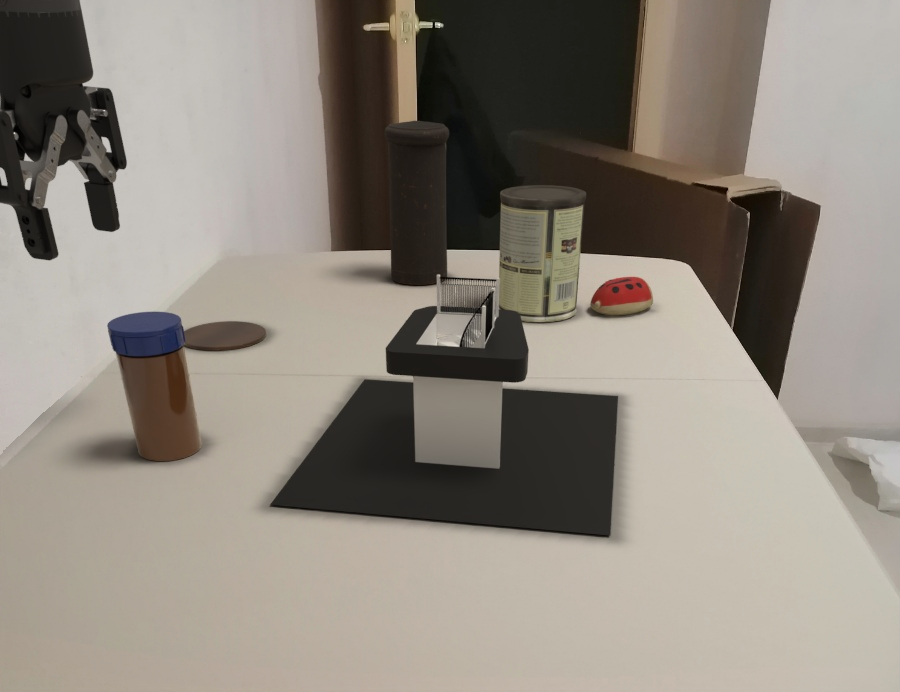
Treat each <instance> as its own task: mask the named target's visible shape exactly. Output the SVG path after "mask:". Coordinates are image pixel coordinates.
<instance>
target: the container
mask: <svg viewBox="0 0 900 692" xmlns="http://www.w3.org/2000/svg"><path fill="white" fill-rule="evenodd" d="M384 136H385V139H386V141H387V143H388V173H389V174H388V177H389V179H388V180H389V230H390V231H389V232H390V233H389V234H390V276H391V277H390V279H391V280H392V281H394V282H396V283H398V284H401V285H412V286H424V285H425V286H426V285H427V286H428V285H433V284H437V275H440V277H448V243H447V239H448V237H447V236H448V235H447V142H448V139H449V138H450V130H449V128H448V126H446V125H445V124H444V123H440V122H438V123H437V122H431V121H424V120H409V121H400V122H395V123H389V124H388V125H387V126H386V127H385V129H384ZM444 281H445V280H444V279H442V280H441V279H440V283H442V282H444Z"/></svg>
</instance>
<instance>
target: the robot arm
mask: <svg viewBox="0 0 900 692" xmlns="http://www.w3.org/2000/svg"><path fill="white" fill-rule="evenodd" d="M91 58H92V57H91V52H90V46H89V41H88V37H87V30H86V25H85V21H84V15H83V10H82V5H81V0H0V169H2V170H3V171H4V175H5V179H6V185H5V184H3V183H2V179H1V177H0V204H4V205H8V206H10V207H12V208H13V210H14V212H15V215H16V219H17V223H18V226H19V230H20V234H21V238H22V241H23V245H24V248H25V250H26V251H27V253H28V254H29V256H30V257H31V258H32V259H35V260H42V261H52V260H55V259H57V258H58V257H59V250H58V249H59V248H58V245H57V241H56V237H55V233H54V229H53V225H52V220H51V215H50V212H49V208H48V207H45V204H46V199H47V194H48V189H49V188H48V187H49V183H50V182H52V181H53V180H55V179H56V176H57V171H58V167H61V166H64V165H66V163H68V162H71V163H73V164H74V166H75V167H76V169H77V170H78V171H79V173H80V174H81V175H82V177H83V178H84V179H85V180H88V181H84V182H83V186H84V191H85V196H86V199H87V205H88V209H89V214H90V219H91V223H92V227H93V228H94V229H95V230H97V231H100V232H107V233H108V232H109V233H114V232H116V231H118V230H120V228H121V224H120V213H119V209H118V203H117V197H116V192H115V187H114V186H115V185H114V183H115V182H116V180H117V173H118V171H119V170H126V168H127V166H128V160H127V155H126V151H125V147H124V146H125V145H124V141H123V137H122V132H121V127H120V122H119V117H118V112H117V108H116V104H115V99H114V94H113V92H112V90H111V88H109V87H98V86H90V85H89V86H88V85H84V84H86V83H88V82H90V81H91V80H92V79H93V77H94V68H93V63H92V59H91ZM103 138H106V139H107V140H108V143H109V147H110V151H107V150H108V149H107V148H106V146H105V144H104V142H103ZM26 156H27V157H28V159H30V160H31V161H30V160H25V159H26ZM28 179H31V181H30V187H29V189H27V188H26V182H27V180H28Z"/></svg>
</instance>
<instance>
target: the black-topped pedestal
mask: <svg viewBox="0 0 900 692" xmlns="http://www.w3.org/2000/svg"><path fill="white" fill-rule="evenodd" d="M440 279H441V280H442V279H444V280H443V281H445V283H441V282H440ZM447 281H448V282H447ZM466 281H468V284H466ZM450 282H454V283H450ZM457 282H461V283H457ZM463 282H464V283H463ZM470 282H471V283H470ZM473 283H478V284H473ZM480 283H484V285H483V284H480ZM489 283H491V285H489ZM447 285H448V305H447ZM499 285H500V278H499V277H496V278H477V277H476V278H475V277H474V278H473V277H455V276H454V277H453V276H447V277H440V275H437V283H436V305H429V306H425V307H420V308H416V309H415V310H413V311H412V312H411V314H410V315H409V316H408V318H407V319H406V321H404V323H403V324H402V326H401V327H400V328H399V330H398V331H397V332H396V334H394V336H393V338H392V339H391V340H390V341H389V343H388V344H387V345H386V347H385V367H386V373H387V374H389V375H393V376H403V377H404V376H407V377H412V381H397V380H383V379H367V378H364V379H363V381H362V382H361V383H360V384H359V386H358V387H357V389H356V390H355V391H354V393H353V394H352V395H351V397H350V398H349V399H348V401H347V402H346V403H345V405H344V406H343V407H342V408H341V410H340V411H339V413H338V414H337V415H336V416H335V417H334V419H333V420H332V421H331V423H330V424H329V426H328V427H327V428H326V429H325V431H324V432H323V434H322V435H321V436H320V438H319V439H318V440H317V441H316V443H315V444H314V445H313V447H312V448H311V450H310V451H309V452H308V454H307V455H306V456H305V458H304V459H303V460H302V461H301V463H300V464H299V465H298V467H297V468H296V470H294V472H293V473H292V475H291V476H290V477H289V479H288V480H287V482H286V483H285V484H284V485H283V486H282V488H281V489H280V491H279V492H278V493H277V495H276V496H275V497H274V499H273V500H272V501H271V503H270V506H281V507H291V508H292V507H293V508H304V509H314V510H324V511H325V510H326V511H337V512H348V513H358V514H367V515H379V516H391V517H392V516H393V517H403V518H414V519H424V520H425V519H426V520H436V521H446V522H457V523H467V524H468V523H469V524H480V525H491V526H501V527H502V526H503V527H511V528H512V527H513V528H524V529H533V530H534V529H535V530H546V531H555V532H556V531H557V532H567V533H569V532H570V533H577V534H589V535H599V536H611V532H612V531H611V530H612V514H613V513H612V512H613V496H614V478H615V477H614V476H615V459H616V443H617V441H616V440H617V424H618V407H619V406H618V404H619V395H611V394H610V395H609V394H592V393H581V392H579V393H578V392H565V391H563V392H562V391H550V390H549V391H548V390H536V389H535V390H534V389H519V388H517V389H516V388H504V387H503V385H504V383H512V384H513V383H522V382H524V381H525V380H526V379H527V376H528V371H529V370H528V368H529V354H530V353H529V352H530V351H529V350H530V349H529V345H528V341H527V335H526V333H525V328H524V325H523V321H522V320H521V316H520V315H519V313H518V312H516V311H513V310H500V309H499ZM454 286H457V306H456V294H454ZM463 286H464V300H466V306H463ZM470 287H471V289H473V307H472V291H470ZM479 287H480V299H482V302H481V301H479ZM486 287H487V295H486ZM438 335H442V337H438Z"/></svg>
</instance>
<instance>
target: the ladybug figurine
mask: <svg viewBox="0 0 900 692" xmlns="http://www.w3.org/2000/svg"><path fill="white" fill-rule="evenodd" d="M653 302H654V296H653V291H652V289H651V287H650V285H649V284H648V282H647V281H646V280H645V279H643V278H642V277H639V276H624V277H623V276H622V277H616V278H612V279H608V280H606V281H604V283H602V284H600V286H599V287H598V288H597V289H596V291H594V293H593V295H592V297H591V300H590V305H589V306H590V308H591V309H592V310H593V311H594V312H596V313H598V314H601V315H604V316H625V315H631V314H637V313H639V312H642V311H644V310H645V311H646V310H647V309H649V308H650V307H651V306H652V305H653Z"/></svg>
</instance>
